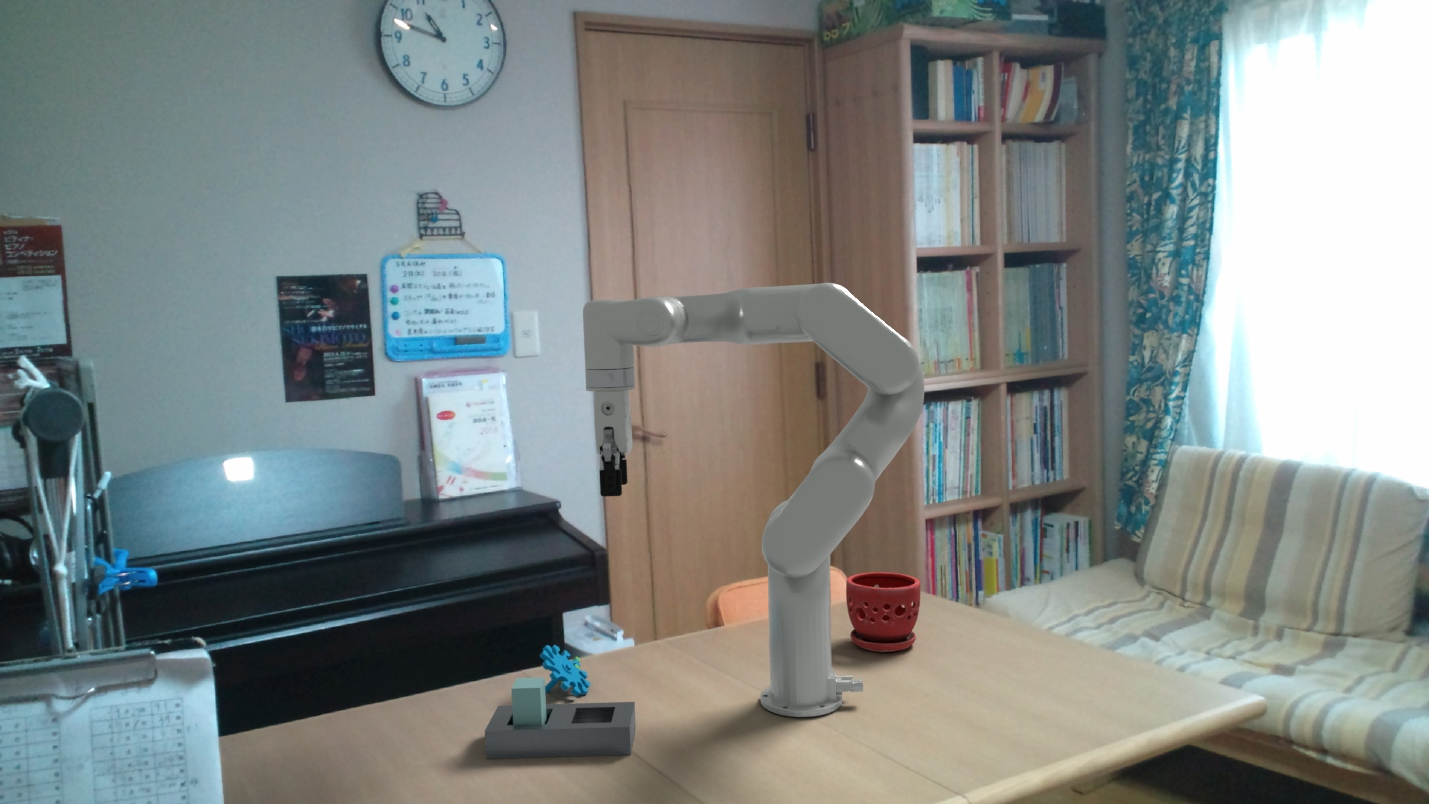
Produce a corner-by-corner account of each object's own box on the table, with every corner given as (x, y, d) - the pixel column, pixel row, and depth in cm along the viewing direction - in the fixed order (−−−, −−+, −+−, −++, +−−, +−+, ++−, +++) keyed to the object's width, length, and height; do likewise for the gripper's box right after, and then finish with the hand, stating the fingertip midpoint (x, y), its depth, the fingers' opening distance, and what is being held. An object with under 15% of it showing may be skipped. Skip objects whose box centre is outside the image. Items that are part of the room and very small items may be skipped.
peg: (547, 737, 149) (544, 677, 148) (543, 749, 145) (540, 687, 144) (519, 738, 149) (516, 678, 148) (514, 750, 145) (511, 688, 144)
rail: (635, 728, 151) (634, 701, 151) (630, 754, 142) (629, 726, 142) (499, 732, 151) (498, 705, 151) (486, 759, 142) (484, 731, 142)
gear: (577, 697, 160) (536, 648, 162) (552, 722, 160) (511, 673, 163) (603, 681, 170) (564, 635, 172) (579, 705, 171) (540, 659, 173)
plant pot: (927, 655, 178) (926, 587, 177) (851, 657, 178) (850, 589, 177) (914, 631, 191) (913, 568, 190) (843, 633, 191) (842, 570, 190)
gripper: (630, 383, 150) (634, 500, 151) (638, 375, 167) (642, 479, 168) (578, 385, 150) (583, 501, 151) (592, 376, 167) (596, 481, 169)
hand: (614, 490), depth 160 cm, fingers open, 9 cm apart
